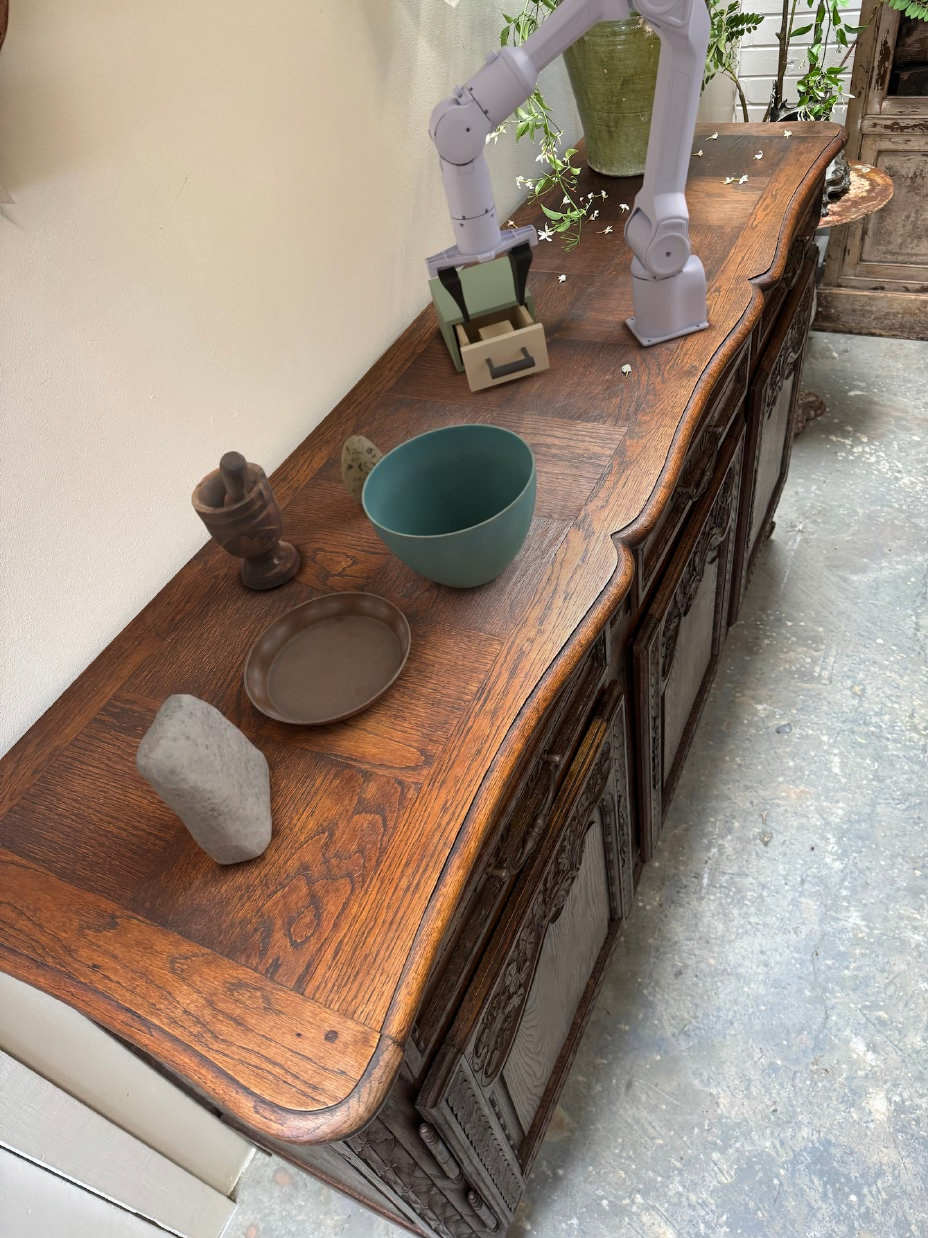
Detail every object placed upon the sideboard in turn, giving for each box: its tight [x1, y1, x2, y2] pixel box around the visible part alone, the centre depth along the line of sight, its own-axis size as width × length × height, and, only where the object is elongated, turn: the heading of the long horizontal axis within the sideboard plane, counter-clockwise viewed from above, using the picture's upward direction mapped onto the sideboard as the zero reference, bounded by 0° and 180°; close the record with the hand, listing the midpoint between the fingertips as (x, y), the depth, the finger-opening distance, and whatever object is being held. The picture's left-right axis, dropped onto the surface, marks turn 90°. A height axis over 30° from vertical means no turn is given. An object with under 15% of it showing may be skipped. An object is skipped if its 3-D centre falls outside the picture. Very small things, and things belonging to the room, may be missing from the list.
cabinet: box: [427, 255, 537, 373], centre depth 125 cm, size 15×13×8 cm
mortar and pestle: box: [191, 450, 301, 591], centre depth 93 cm, size 12×9×20 cm
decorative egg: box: [340, 434, 385, 507], centre depth 102 cm, size 6×6×10 cm
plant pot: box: [362, 423, 538, 589], centre depth 90 cm, size 18×18×12 cm
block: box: [479, 320, 514, 341], centre depth 117 cm, size 4×4×4 cm
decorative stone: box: [134, 693, 273, 865], centre depth 72 cm, size 11×6×15 cm, turn 5°
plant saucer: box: [243, 591, 412, 726], centre depth 86 cm, size 18×18×3 cm
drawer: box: [452, 305, 550, 393], centre depth 117 cm, size 18×11×6 cm, turn 12°
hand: (493, 311), depth 114 cm, fingers open, 7 cm apart
